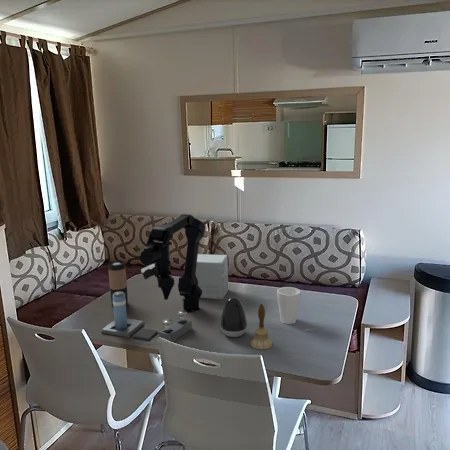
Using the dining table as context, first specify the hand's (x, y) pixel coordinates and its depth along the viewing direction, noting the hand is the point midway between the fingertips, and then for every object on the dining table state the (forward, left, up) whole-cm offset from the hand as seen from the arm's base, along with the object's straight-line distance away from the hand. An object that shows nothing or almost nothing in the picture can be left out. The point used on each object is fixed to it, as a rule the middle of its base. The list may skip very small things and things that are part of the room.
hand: (164, 295), depth 182 cm
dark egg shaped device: (-24, +16, -14) cm, 32 cm away
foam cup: (-49, +12, -14) cm, 52 cm away
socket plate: (+17, -4, -13) cm, 22 cm away
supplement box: (-26, -29, -14) cm, 41 cm away
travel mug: (+16, -30, -14) cm, 36 cm away
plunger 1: (+1, +11, -10) cm, 15 cm away
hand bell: (-31, +27, -14) cm, 43 cm away
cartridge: (+18, -3, -13) cm, 22 cm away
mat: (+9, +5, -13) cm, 17 cm away
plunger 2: (-6, +5, -10) cm, 13 cm away
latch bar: (-2, +8, -13) cm, 16 cm away
